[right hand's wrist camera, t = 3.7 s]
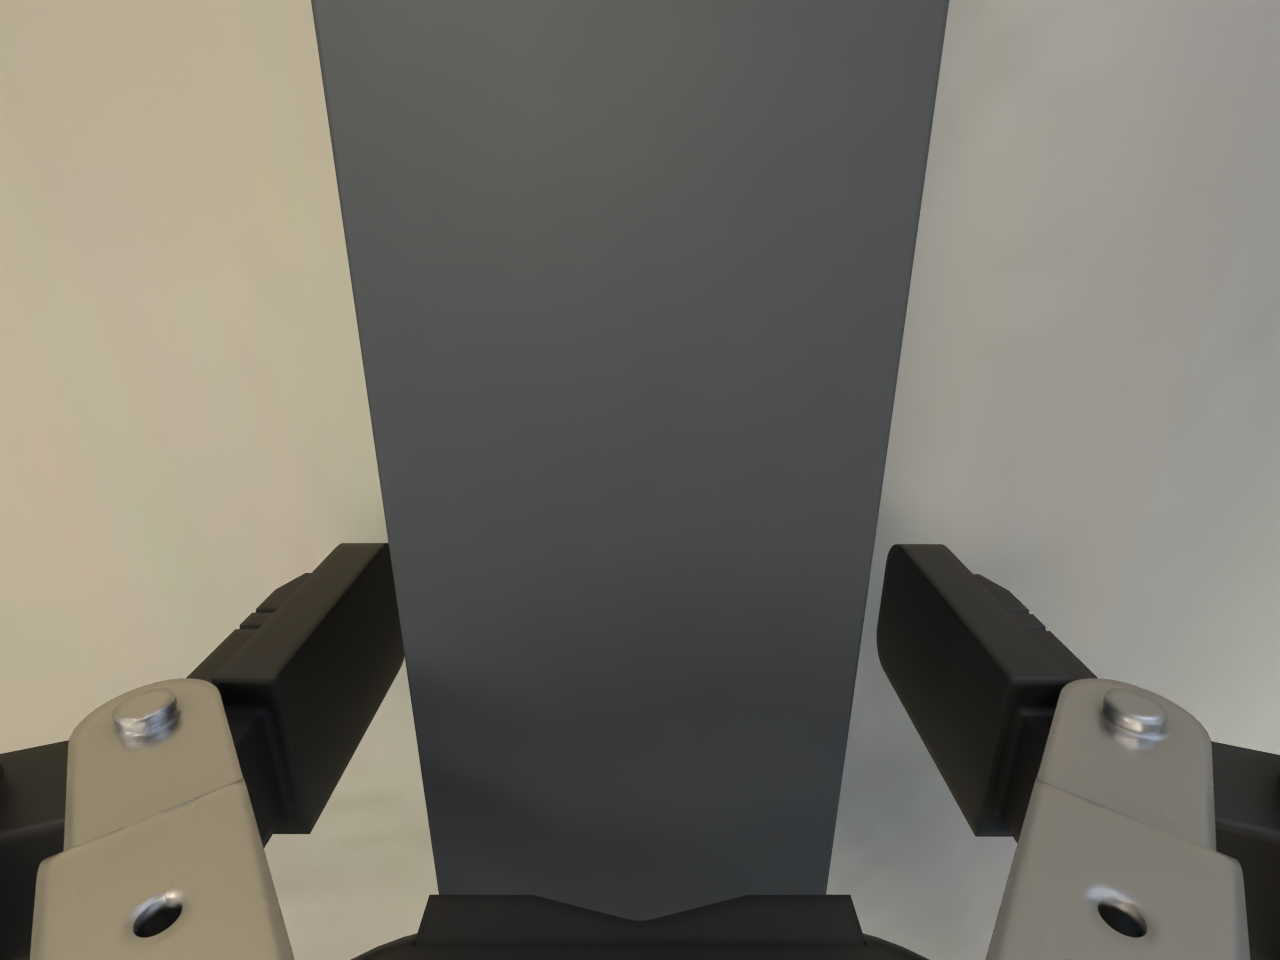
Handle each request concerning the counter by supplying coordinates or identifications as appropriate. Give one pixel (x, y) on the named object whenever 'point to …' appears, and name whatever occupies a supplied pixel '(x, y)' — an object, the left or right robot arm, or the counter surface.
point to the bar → (631, 414)
